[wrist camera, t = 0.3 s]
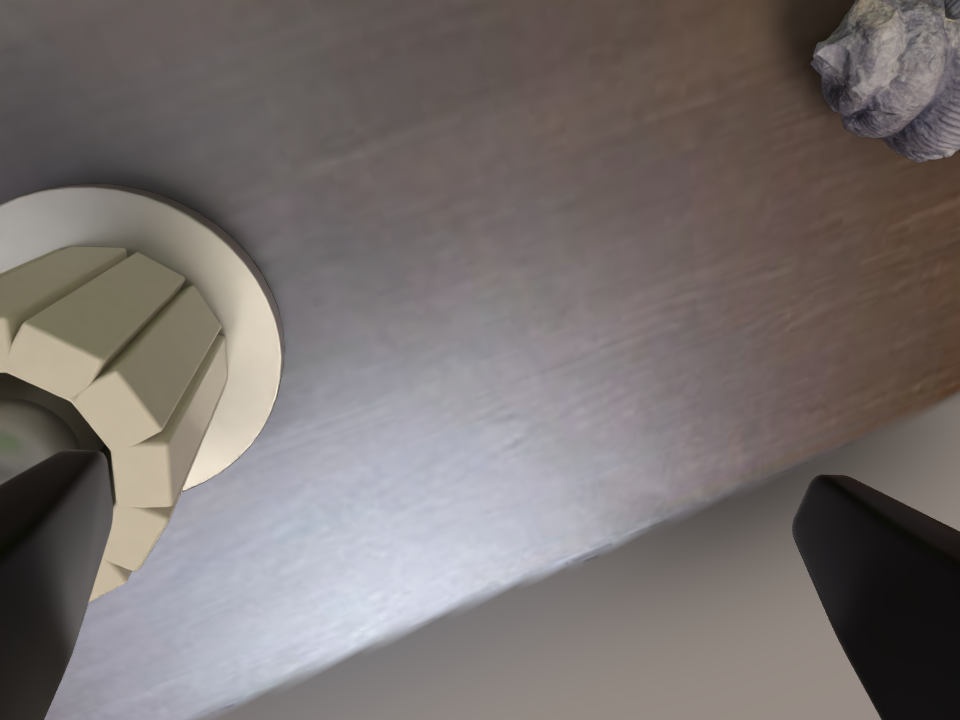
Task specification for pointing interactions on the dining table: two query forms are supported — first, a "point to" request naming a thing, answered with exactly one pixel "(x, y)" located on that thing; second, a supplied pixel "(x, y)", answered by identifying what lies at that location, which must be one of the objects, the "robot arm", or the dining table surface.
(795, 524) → the robot arm
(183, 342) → the beige fluted tube
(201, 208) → the dining table surface
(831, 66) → the seashell
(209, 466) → the stand
